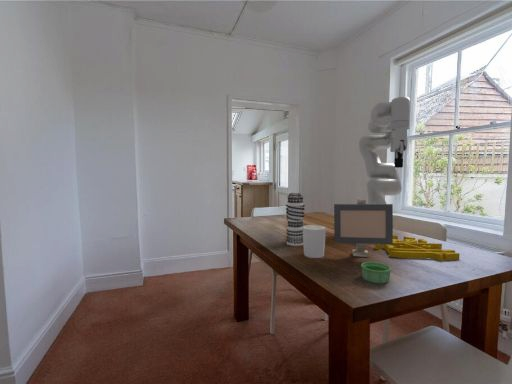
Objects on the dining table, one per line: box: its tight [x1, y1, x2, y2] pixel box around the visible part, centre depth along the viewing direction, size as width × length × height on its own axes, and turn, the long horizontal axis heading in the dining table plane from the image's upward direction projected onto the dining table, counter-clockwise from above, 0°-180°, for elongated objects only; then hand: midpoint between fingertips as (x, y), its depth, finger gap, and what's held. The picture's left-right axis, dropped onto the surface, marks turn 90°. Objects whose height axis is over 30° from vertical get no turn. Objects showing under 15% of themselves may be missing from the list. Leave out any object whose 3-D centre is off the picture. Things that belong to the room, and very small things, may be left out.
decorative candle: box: [285, 192, 306, 247], centre depth 132 cm, size 9×9×25 cm
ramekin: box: [360, 261, 392, 284], centre depth 87 cm, size 9×9×4 cm
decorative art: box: [374, 234, 461, 262], centre depth 123 cm, size 34×3×30 cm
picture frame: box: [333, 203, 394, 245], centre depth 109 cm, size 2×22×16 cm, turn 75°
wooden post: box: [351, 198, 370, 258], centre depth 112 cm, size 4×6×24 cm
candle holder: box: [302, 224, 327, 259], centre depth 113 cm, size 10×10×12 cm
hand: (398, 167), depth 121 cm, fingers closed
